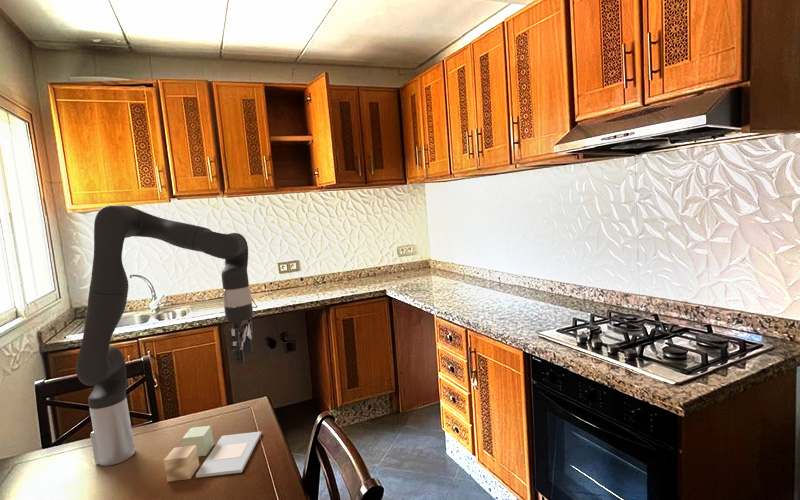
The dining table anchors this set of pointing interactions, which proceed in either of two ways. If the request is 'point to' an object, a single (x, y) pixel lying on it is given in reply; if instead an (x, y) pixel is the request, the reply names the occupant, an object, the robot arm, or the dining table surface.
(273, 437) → the dining table surface
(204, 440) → the sage block
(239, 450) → the white rectangular board
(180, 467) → the maple block
